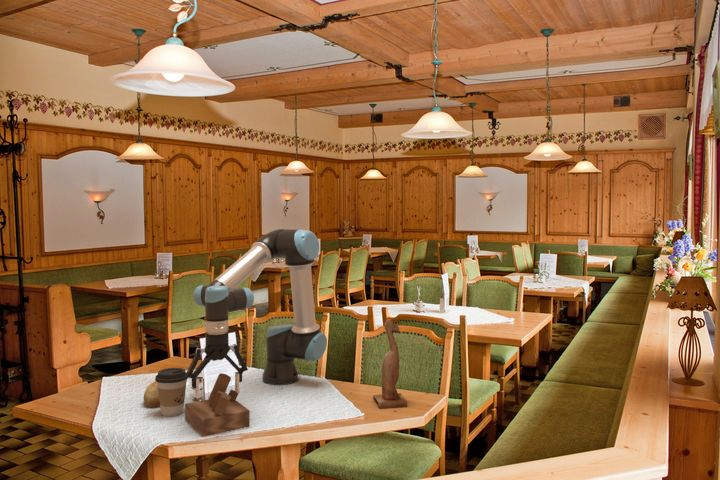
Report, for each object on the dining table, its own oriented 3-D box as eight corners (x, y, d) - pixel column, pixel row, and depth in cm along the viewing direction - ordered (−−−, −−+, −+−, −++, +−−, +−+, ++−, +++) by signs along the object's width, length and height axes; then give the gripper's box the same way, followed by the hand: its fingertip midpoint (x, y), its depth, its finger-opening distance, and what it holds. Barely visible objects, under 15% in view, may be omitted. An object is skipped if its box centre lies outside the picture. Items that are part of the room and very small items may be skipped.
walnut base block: (229, 412, 213) (229, 395, 213) (249, 428, 198) (249, 410, 198) (185, 420, 204) (185, 403, 204) (202, 438, 189) (202, 419, 189)
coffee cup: (175, 420, 203) (174, 377, 202) (148, 416, 207) (147, 373, 206) (195, 409, 214) (195, 368, 213) (169, 405, 218) (168, 365, 217)
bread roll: (179, 396, 229) (179, 375, 229) (164, 409, 214) (164, 387, 214) (155, 395, 230) (155, 375, 229) (138, 408, 215) (138, 387, 214)
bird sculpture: (409, 407, 219) (412, 321, 218) (378, 409, 216) (382, 322, 215) (399, 398, 230) (402, 316, 229) (370, 399, 227) (373, 316, 226)
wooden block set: (225, 423, 192) (237, 394, 191) (200, 413, 191) (212, 384, 191) (234, 402, 210) (245, 376, 209) (211, 393, 209) (222, 367, 208)
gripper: (180, 338, 190) (181, 403, 191) (256, 331, 201) (256, 392, 203) (176, 333, 197) (177, 396, 198) (250, 327, 208) (250, 386, 209)
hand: (217, 394), depth 200 cm, fingers open, 13 cm apart
